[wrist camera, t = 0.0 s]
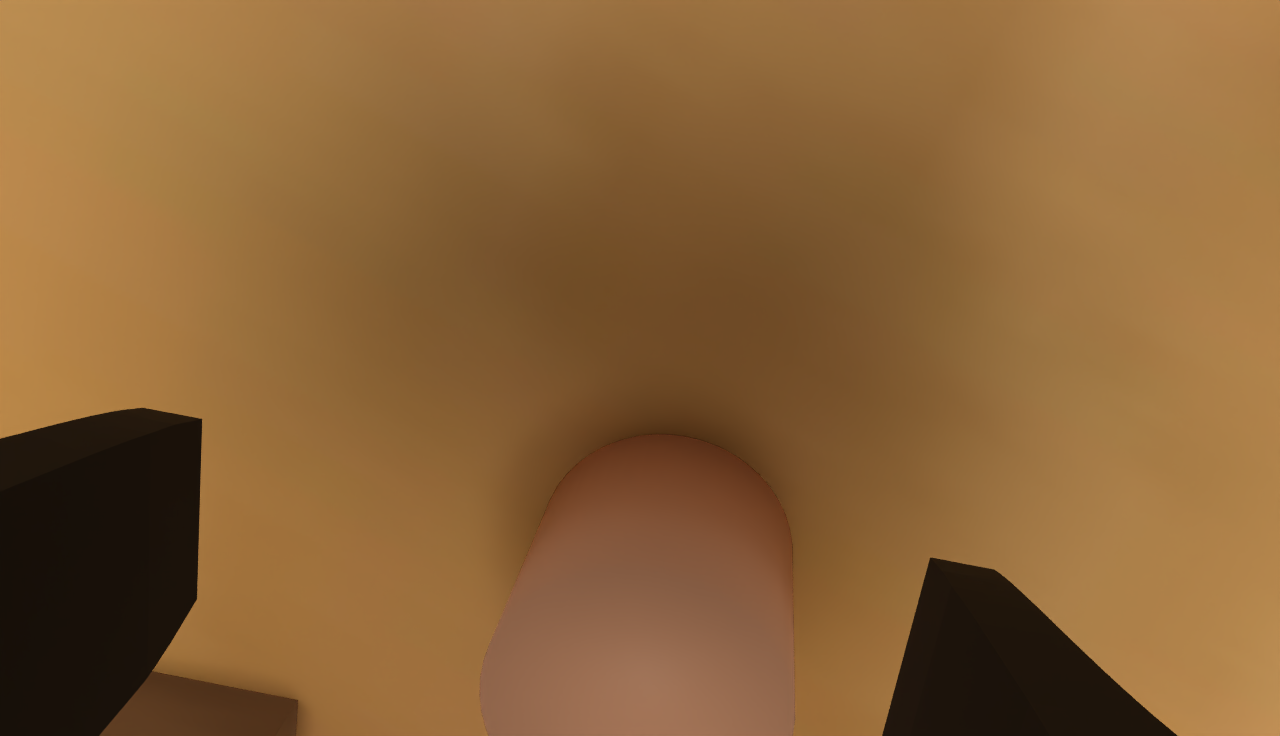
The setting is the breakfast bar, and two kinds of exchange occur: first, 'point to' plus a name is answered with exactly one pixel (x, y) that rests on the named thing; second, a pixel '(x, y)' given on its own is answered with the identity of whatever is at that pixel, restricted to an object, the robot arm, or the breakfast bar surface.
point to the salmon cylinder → (650, 603)
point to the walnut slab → (201, 711)
